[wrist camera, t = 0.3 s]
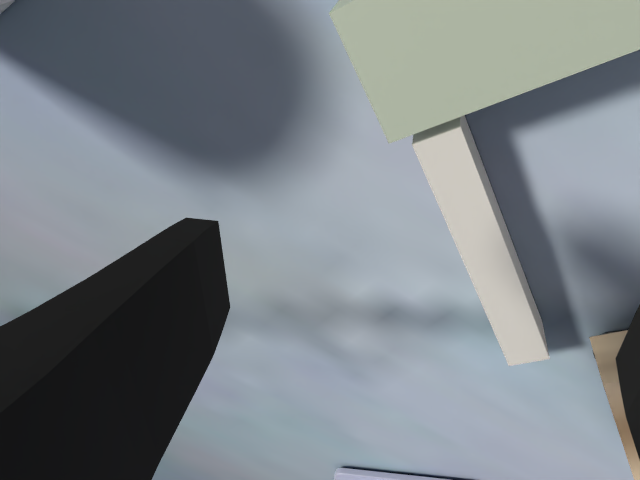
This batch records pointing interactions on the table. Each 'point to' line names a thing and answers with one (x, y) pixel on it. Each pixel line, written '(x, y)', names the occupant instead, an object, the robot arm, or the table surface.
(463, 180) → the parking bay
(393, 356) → the table surface
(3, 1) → the white cup
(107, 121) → the table surface
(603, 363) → the tan block
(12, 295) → the table surface
